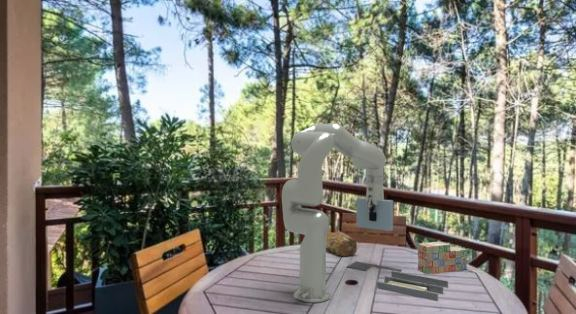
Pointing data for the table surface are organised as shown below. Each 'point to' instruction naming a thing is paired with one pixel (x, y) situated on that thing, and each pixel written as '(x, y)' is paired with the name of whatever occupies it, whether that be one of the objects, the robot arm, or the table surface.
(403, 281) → the rack
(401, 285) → the offcut upper
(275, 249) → the table surface
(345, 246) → the petrified wood
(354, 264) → the mat
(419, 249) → the stack of blocks
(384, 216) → the panel
